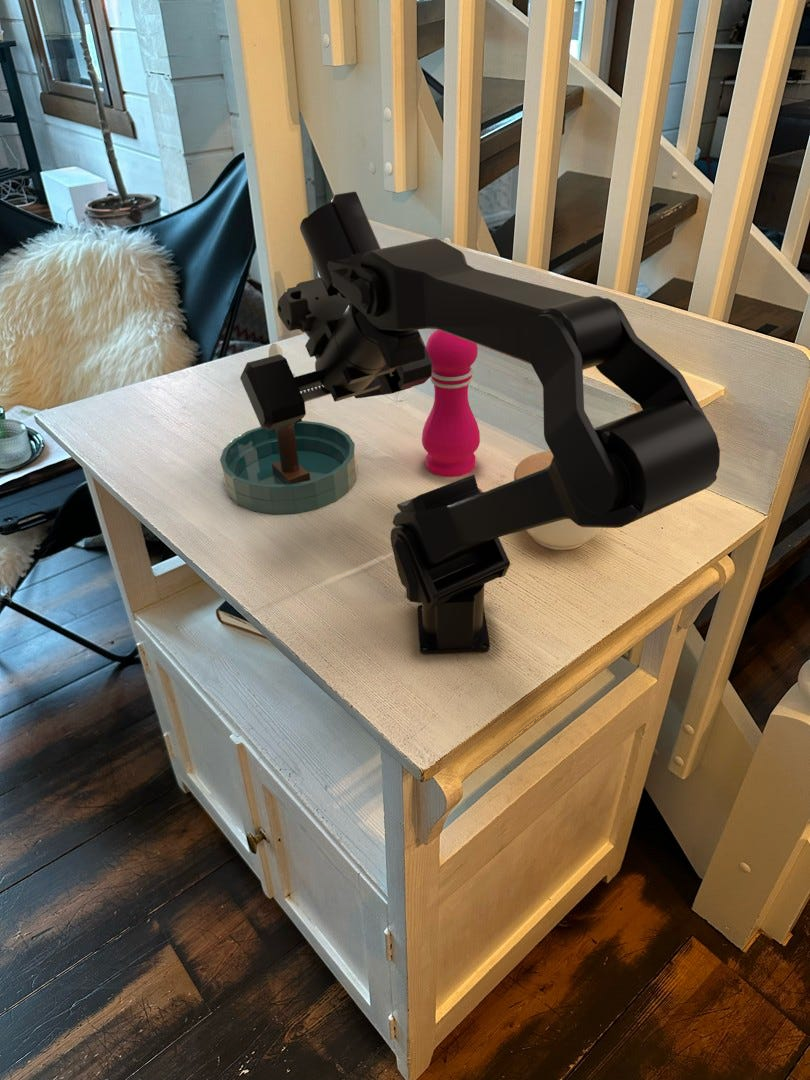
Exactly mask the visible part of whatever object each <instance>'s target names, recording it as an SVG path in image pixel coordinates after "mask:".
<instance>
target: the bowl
mask: <svg viewBox="0 0 810 1080" xmlns="http://www.w3.org/2000/svg"><path fill="white" fill-rule="evenodd" d="M294 430H295V438H296V446H297V454H298V462H299V464H300V465H301V466H302V467H303V468H305V469H306V470H307V471H308V472H309V474H310V480H309V481H304V482H299V483H294V484H284V483H283V482H282V481H281V480H280V479H279V478H278V477H277V476H276V475H275V474H274V473H273V469H272V463H275V462H278V461H280V456H279V449H278V442H277V435H276V429H273V430H270V431H268V430H266V429H264V428H262V427H261V426H257V427H255V428H252V429H250V430H247V431H245V432H243V433H242V434H240V435H238V436H237V437H235V438H233V439H232V440H231V441H230V442H229V443H227V444H226V446H225V447H224V448H223V450H222V452H221V455H220V459H219V462H220V468H221V473H222V477H223V483H224V487H225V491H226V493H227V496H228V497H229V498H230V499H231V500H232V501H233V502H234V503H235V504H236V505H238V506H240V507H243V508H245V509H247V510H249V511H252V512H257V513H263V514H269V515H283V514H284V515H286V514H287V515H288V514H299V513H303V512H304V513H305V512H309V511H314V510H319V509H320V508H323V507H325V506H328V505H330V504H332V503H334V502H337V501H338V500H340V499H341V498H342V497H344V496H345V495H346V494H347V493H349V492H350V491H351V489H352V488H353V486H354V485H355V483H356V481H357V472H358V467H357V457H356V456H357V455H356V444H355V442H354V440H353V439H352V438H351V436H350V434H348V433H346V432H345V431H343V430H342V429H341V428H339V427H337V426H333V425H330V424H326V423H323V422H319V421H309V420H308V421H307V420H302V421H301V422H298V423H295V424H294Z"/></svg>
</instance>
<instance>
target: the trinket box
mask: <svg viewBox="0 0 810 1080" xmlns="http://www.w3.org/2000/svg"><path fill="white" fill-rule="evenodd" d="M552 458H553V454H552V452H551V450H545V451H541V452H536V453H534V454H531V455H528V456H527V457H525V458H523V459H522V460H521V461H520V462H519V463H518V464H517V465H516V466H515V468H514V472H513V481H514V480H517V479H520V478H522V477H525V476H527V475H530V474H532V473H535V472H537V471H540V470H543V469H545V468H547V467H548V466H549V465H550V464H551V461H552ZM601 530H602V528H593V527H580V526H578V525H577V524H575V523H574V522H573V521H572V520H571V519H564V520H560V521H556V522H553V523H549V524H545V525H542V526H538V527H534V528H531V529H527V530H525V532H527V534H528V535H529V536H531V537H532V539H533V540H534V541H535V543H537V544H538V545H540V546H542V547H544V548H547V549H551V550H554V551H571V550H574V549H577V548H579V547H581V546H583V545H584V543H587V542H588V541H590V540H591V539H593V538H595V536H596V535H598V534H599V532H600V531H601Z"/></svg>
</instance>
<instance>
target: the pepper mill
mask: <svg viewBox="0 0 810 1080" xmlns="http://www.w3.org/2000/svg"><path fill="white" fill-rule="evenodd" d="M425 346H426V349H427V351H428V353H429V356H430V358H431V360H432V362H433V372H432V376H431V377H430V378H429V380H430V382H431V384H433V388H434V401H433V404H432V407H431V410H430V412H429V415H428V416H427V418H426V420H425V422H424V425H423V428H422V433H421V445H422V447H423V449H424V450H425V452H426V453H427V454H426V456H425V466H426V468H427V470H428V472H430V473H432V474H434V475H437V476H441V477H446V478H453V477H461V476H465V475H468V474H469V473H471V472H472V471H473V470H474V469H475V467H476V454H475V452H476V451H477V450H478V448H479V447H480V444H481V434H480V429H479V424H478V422H477V419H476V417H475V415H474V413H473V411H472V408H471V406H470V402H469V394H468V393H469V385H470V384H472V382H473V380H474V379H473V378H474V377H473V373H474V369H473V367H472V365H473V364H474V363H475V361H476V360H477V357H478V352H479V350H478V348H479V347H478V344H476V343H473V342H470V341H468V340H465V339H462V338H460V337H457V336H454V335H452V334H449V333H446V332H444V331H441V330H438V329H435V330H434V331H433V332H432V333H431V334H430V335H429V337H428V338H427V341H426V344H425Z"/></svg>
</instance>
